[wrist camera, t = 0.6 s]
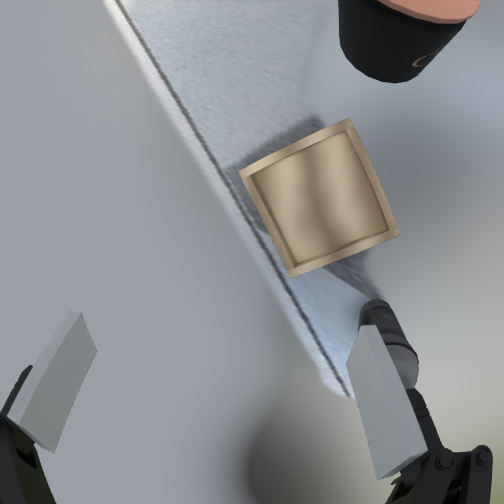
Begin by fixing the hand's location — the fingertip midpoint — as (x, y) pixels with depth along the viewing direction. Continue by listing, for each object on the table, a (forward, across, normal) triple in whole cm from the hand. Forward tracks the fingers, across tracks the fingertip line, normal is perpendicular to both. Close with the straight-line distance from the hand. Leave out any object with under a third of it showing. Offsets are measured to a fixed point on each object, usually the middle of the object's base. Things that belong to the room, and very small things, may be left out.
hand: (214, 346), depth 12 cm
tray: (+22, +10, 0) cm, 24 cm away
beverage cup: (+18, +19, -13) cm, 29 cm away
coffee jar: (+24, +17, +21) cm, 35 cm away
